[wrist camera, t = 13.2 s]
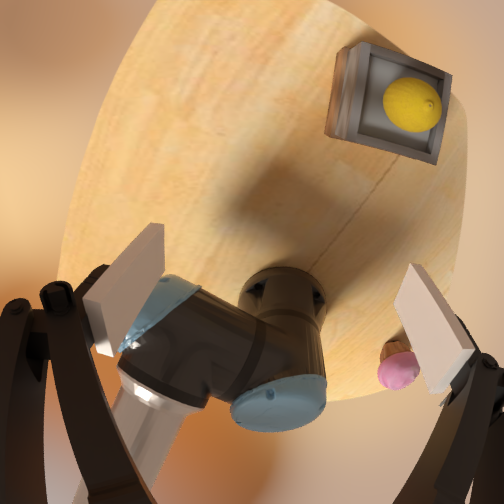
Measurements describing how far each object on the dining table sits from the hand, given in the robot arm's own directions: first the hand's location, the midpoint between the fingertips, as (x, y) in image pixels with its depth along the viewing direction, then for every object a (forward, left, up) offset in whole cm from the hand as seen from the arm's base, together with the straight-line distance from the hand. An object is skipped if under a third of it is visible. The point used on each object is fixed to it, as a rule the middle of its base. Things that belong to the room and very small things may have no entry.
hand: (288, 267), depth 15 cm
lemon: (+11, -11, -19) cm, 24 cm away
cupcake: (-32, -29, -29) cm, 52 cm away
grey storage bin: (+11, -11, -29) cm, 33 cm away
